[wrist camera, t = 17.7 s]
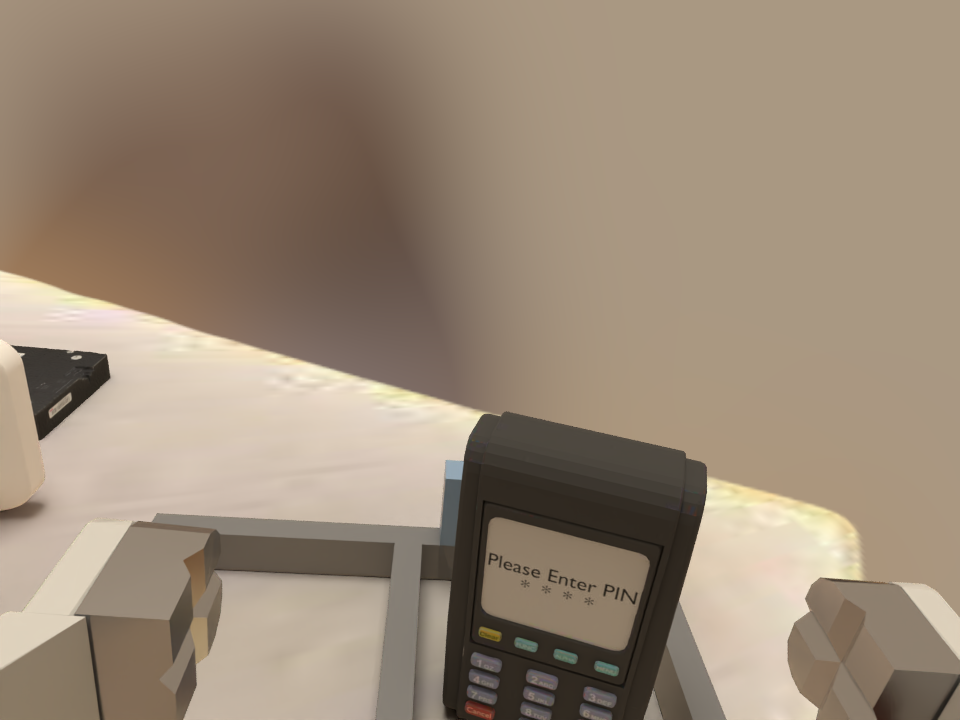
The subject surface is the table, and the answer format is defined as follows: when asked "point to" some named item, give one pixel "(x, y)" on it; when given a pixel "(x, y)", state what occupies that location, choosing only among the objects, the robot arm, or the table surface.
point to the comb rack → (406, 561)
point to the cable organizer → (17, 434)
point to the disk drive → (60, 382)
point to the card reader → (565, 570)
